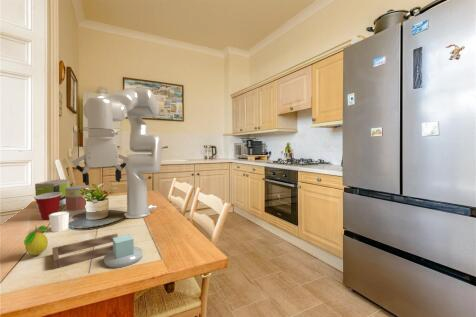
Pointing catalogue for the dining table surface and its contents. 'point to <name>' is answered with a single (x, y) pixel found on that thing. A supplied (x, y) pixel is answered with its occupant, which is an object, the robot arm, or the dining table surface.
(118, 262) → the grey round disc
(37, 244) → the lemon
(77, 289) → the dining table surface
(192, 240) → the dining table surface
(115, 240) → the teal cube
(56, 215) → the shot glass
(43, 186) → the tea box
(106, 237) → the frame
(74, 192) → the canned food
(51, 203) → the plastic cup
